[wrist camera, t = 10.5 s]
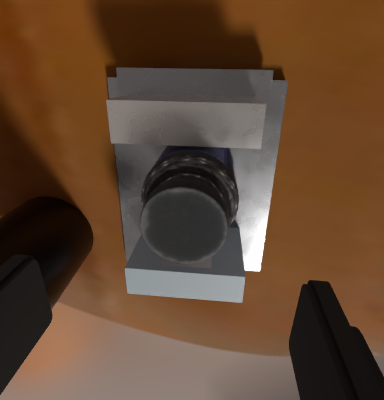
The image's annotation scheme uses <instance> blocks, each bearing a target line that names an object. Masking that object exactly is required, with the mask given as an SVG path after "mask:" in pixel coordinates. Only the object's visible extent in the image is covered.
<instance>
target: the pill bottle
mask: <svg viewBox="0 0 384 400" xmlns="http://www.w3.org/2000/svg"><path fill="white" fill-rule="evenodd" d="M141 203H142V208H143V209H142V211H141V215H140V230H141V234H142V237H143V239H144V240H145V242H146V244H147V245H148V247H149V248H150V249H151V250H152V251H154V252H155V253H156V254H157V255H159V256H160V257H162V258H164V259H166V260H168V261H171V262H174V263H184V264H194V263H199V262H202V261H205V260H207V259H209V258H211V257H212V256H213V255H215V254H216V253H217V252H218V251H219V250H220V249H221V248H222V246H223V245H224V243H225V241H226V239H227V236H228V230H229V227H230V225H231V224H232V222H233V221H234V219H235V217H236V215H237V211H238V204H239V194H238V188H237V182H236V175H235V169H234V163H233V157H232V154H231V152H230V149H229V148H223V147H197V146H171V145H167V147H166V148H165V150H164V151H163V153H162V154H161V156H160V157H159V159H158V160H157V162H156V163H155V165H154V166H153V167H152V169H151V170H150V172H149V173H148V175H147V177H146V179H145V181H144V183H143V187H142V194H141Z"/></svg>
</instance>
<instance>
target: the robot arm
mask: <svg viewBox="0 0 384 400" xmlns="http://www.w3.org/2000/svg"><path fill="white" fill-rule="evenodd" d="M51 320H52V310H51V307H50V303H49V300H48V296H47V292H46V289H45V285H44V281H43V278H42V274H41V270H40V267H39V263H38V261H36V260H35V258H34V257H33V256H28V255H13V256H12V257H11V258H9V259H8V260H7V261H6V262H5V263H4V264H2V265H1V266H0V395H1V393H2V392H3V390H4V389H5V388H6V386H7V385H8V383H9V382H10V380H11V379H12V378H13V376H14V375H15V373H16V372H17V370H18V369H19V367H20V366H21V365H22V363H23V362H24V360H25V359H26V357H27V356H28V355H29V353H30V352H31V350H32V349H33V347H34V346H35V345H36V343H37V342H38V340H39V339H40V337H41V336H42V334H43V333H44V332H45V330H46V329H47V327H48V326H49V324H50V323H51ZM289 350H290V355H291V359H292V363H293V368H294V373H295V378H296V382H297V386H298V391H299V396H300V400H384V377H383V374H382V372H381V371H380V369H379V367H378V365H377V363H376V361H375V359H374V357H373V355H372V353H371V351H370V349H369V347H368V345H367V343H366V341H365V339H364V337H363V335H362V333H361V332H360V330H359V329H358V328H356V327H352V326H350V325H349V322H348V320H347V318H346V316H345V314H344V312H343V310H342V308H341V306H340V304H339V302H338V300H337V297H336V295H335V293H334V291H333V289H332V287H331V285H330V283H329V282H327V281H315V280H309V281H308V284H303V285H302V288H301V292H300V296H299V301H298V305H297V309H296V313H295V317H294V322H293V326H292V330H291V334H290V339H289Z"/></svg>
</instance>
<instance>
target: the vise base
mask: <svg viewBox="0 0 384 400" xmlns="http://www.w3.org/2000/svg"><path fill="white" fill-rule="evenodd" d="M273 71H274V70H244V69H181V68H117V67H116V72H117V77H107V81H108V90H109V99H108V100H106V101H107V111H108V120H109V129H110V138H111V143H114V147H115V157H116V166H117V176H118V185H119V195H120V205H121V214H122V224H123V233H124V243H125V252H126V262H128V260H129V258H130V256H131V254H132V252H133V250H134V248H135V246H136V244H137V242H138V240H139V238H140V236H141V230H140V215H141V211H142V209H143V208H142V203H141V194H142V187H143V183H144V181H145V179H146V177H147V175H148V173H149V172H150V170H151V169H152V167H153V166H154V165H155V163H156V162H157V160H158V159H159V157H160V156H161V154H162V153H163V151H164V150H165V148H166V147H167V145H171V146H197V147H223V148H229V149H230V152H231V154H232V157H233V163H234V169H235V175H236V182H237V188H238V194H239V204H238V211H237V215H236V217H235V219H234V221H233V222H232V224H231V225H230V227H232V228H240V236H241V245H242V253H243V262H244V270H246V271H260V267H261V260H262V254H263V247H264V240H265V233H266V227H267V220H268V213H269V207H270V200H271V193H272V186H273V180H274V173H275V166H276V159H277V153H278V146H279V139H280V132H281V126H282V119H283V112H284V105H285V99H286V92H287V85H288V81H287V80H272V79H273Z"/></svg>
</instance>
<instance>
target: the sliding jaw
mask: <svg viewBox="0 0 384 400" xmlns="http://www.w3.org/2000/svg"><path fill="white" fill-rule="evenodd" d="M125 275H126V284H127V293H129V294H141V295H153V296H166V297H178V298H190V299H202V300H215V301H227V302H239V303H242V300H243V292H244V284H245V270H244V262H243V253H242V245H241V236H240V228H232V227H229V230H228V236H227V239H226V241H225V243H224V245H223V246H222V248H221V249H220V250H219V251H218V252H217V253H216V254H215V255H213V256H212V257H211V258H209V259H207V260H205V261H202V262H199V263H194V264H184V263H174V262H171V261H168V260H166V259H164V258H162V257H160V256H159V255H157V254H156V253H155V252H154V251H152V250H151V249H150V248H149V247H148V245H147V244H146V242H145V240H144V239H143V237H142V234H141V236H140V238H139V240H138V242H137V244H136V246H135V248H134V250H133V252H132V254H131V256H130V258H129V260H128V263H127V265H126V267H125Z"/></svg>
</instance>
